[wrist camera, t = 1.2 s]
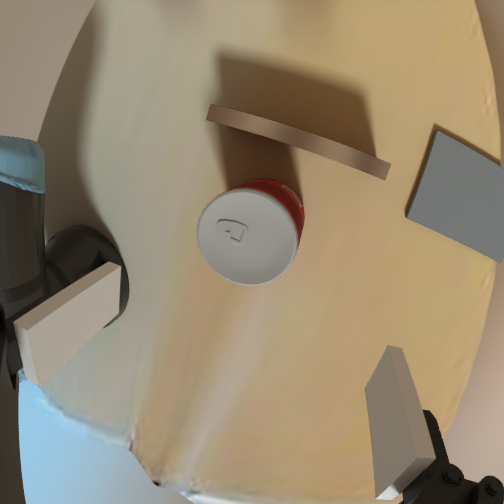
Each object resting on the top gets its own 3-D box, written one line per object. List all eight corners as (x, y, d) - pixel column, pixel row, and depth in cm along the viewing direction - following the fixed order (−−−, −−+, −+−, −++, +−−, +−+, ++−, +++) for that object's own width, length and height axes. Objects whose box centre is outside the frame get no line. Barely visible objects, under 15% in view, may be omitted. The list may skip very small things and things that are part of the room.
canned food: (236, 173, 34) (199, 182, 24) (310, 184, 33) (305, 198, 23) (228, 241, 37) (192, 276, 27) (299, 253, 36) (289, 295, 25)
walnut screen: (228, 125, 33) (205, 119, 26) (232, 112, 32) (210, 103, 26) (372, 175, 31) (385, 180, 25) (377, 161, 31) (391, 163, 24)
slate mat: (405, 216, 32) (407, 218, 31) (435, 131, 28) (437, 130, 28) (497, 261, 30) (500, 263, 30) (526, 185, 27) (529, 186, 26)
